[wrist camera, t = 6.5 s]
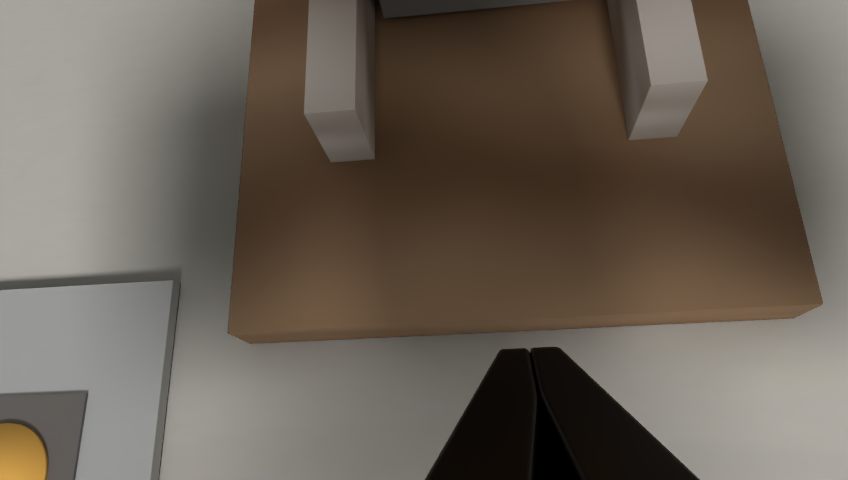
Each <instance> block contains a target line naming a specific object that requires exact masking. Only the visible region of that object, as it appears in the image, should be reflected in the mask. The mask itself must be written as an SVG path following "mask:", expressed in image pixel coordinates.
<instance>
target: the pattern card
mask: <svg viewBox="0 0 848 480" xmlns="http://www.w3.org/2000/svg"><path fill="white" fill-rule="evenodd" d="M179 289H180V284H179V283H177V282H176V281H174V280H167V281H149V282H132V283H115V284H97V285H80V286H63V287H45V288H28V289H11V290H0V480H158V479H159V470H160V461H161V452H162V443H163V434H164V425H165V416H166V407H167V398H168V389H169V380H170V371H171V362H172V353H173V344H174V335H175V326H176V317H177V307H178V298H179Z"/></svg>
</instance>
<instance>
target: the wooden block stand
mask: <svg viewBox="0 0 848 480" xmlns="http://www.w3.org/2000/svg"><path fill="white" fill-rule="evenodd" d="M822 304H823V302H822V298H821V294H820V290H819V286H818V282H817V278H816V274H815V270H814V266H813V262H812V258H811V254H810V250H809V246H808V242H807V238H806V234H805V230H804V225H803V221H802V217H801V213H800V209H799V205H798V201H797V197H796V193H795V189H794V185H793V181H792V177H791V173H790V169H789V165H788V161H787V157H786V153H785V149H784V145H783V141H782V137H781V133H780V129H779V125H778V121H777V117H776V113H775V109H774V105H773V101H772V97H771V93H770V89H769V85H768V81H767V77H766V73H765V69H764V65H763V61H762V57H761V53H760V49H759V45H758V41H757V37H756V33H755V29H754V25H753V21H752V16H751V12H750V8H749V4H748V0H570V1H560V2H549V3H539V4H529V5H518V6H508V7H497V8H487V9H477V10H466V11H456V12H445V13H435V14H425V15H414V16H404V17H394V18H384V16H383V12H382V8H381V4H380V0H255V5H254V17H253V29H252V41H251V54H250V66H249V78H248V90H247V103H246V115H245V127H244V139H243V151H242V164H241V176H240V188H239V200H238V213H237V225H236V237H235V249H234V262H233V274H232V286H231V298H230V311H229V323H228V333H229V334H231V335H233V336H235V337H237V338H239V339H241V340H243V341H246V342H248V343H250V344H254V343H275V342H297V341H318V340H339V339H360V338H382V337H403V336H424V335H446V334H467V333H488V332H509V331H531V330H552V329H573V328H594V327H616V326H637V325H658V324H680V323H701V322H722V321H743V320H765V319H786V318H795V317H797V316H799V315H801V314H803V313H805V312H807V311H809V310H811V309H813V308H815V307H818V306H820V305H822Z"/></svg>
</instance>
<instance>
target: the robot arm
mask: <svg viewBox="0 0 848 480" xmlns="http://www.w3.org/2000/svg"><path fill="white" fill-rule="evenodd" d="M425 480H700V479H699V478H697V477H696V476H695V475H694V474H693V473H692V472H691V471H690V470H689V469H688V468H687V467H686V466H685V465H684V464H683V463H681V462H680V461H679V460H678V459H677V458H676V457H675V456H674V455H673V454H672V453H671V452H670V451H669V450H668V449H667V448H666V447H664V446H663V445H662V444H661V443H660V442H659V441H658V440H657V439H656V438H655V437H654V436H653V435H652V434H651V433H650V432H649V431H647V430H646V429H645V428H644V427H643V426H642V425H641V424H640V423H639V422H638V421H637V420H636V419H635V418H634V417H633V416H631V415H630V414H629V413H628V412H627V411H626V410H625V409H624V408H623V407H622V406H621V405H620V404H619V403H618V402H617V401H616V400H614V399H613V398H612V397H611V396H610V395H609V394H608V393H607V392H606V391H605V390H604V389H603V388H602V387H601V386H600V385H599V384H597V383H596V382H595V381H594V380H593V379H592V378H591V377H590V376H589V375H588V374H587V373H586V372H585V371H584V370H583V369H581V368H580V367H579V366H578V365H577V364H576V363H575V362H574V361H573V360H572V359H571V358H570V357H569V356H568V355H567V354H566V353H564V352H563V351H562V350H561V349H560V348H558V347H541V348H533V349H531V351H530V353H529V351H528V350H527V349H525V348H519V349H502V350H501V351H499V353H498V354H497V356H496V358H495V360H494V361H493V363H492V365H491V366H490V368H489V370H488V372H487V373H486V375H485V377H484V379H483V380H482V382H481V384H480V385H479V387H478V389H477V391H476V392H475V394H474V396H473V398H472V399H471V401H470V403H469V404H468V406H467V408H466V410H465V411H464V413H463V415H462V416H461V418H460V420H459V422H458V423H457V425H456V427H455V429H454V430H453V432H452V434H451V435H450V437H449V439H448V441H447V442H446V444H445V446H444V448H443V449H442V451H441V453H440V454H439V456H438V458H437V460H436V461H435V463H434V465H433V467H432V468H431V470H430V472H429V473H428V475H427V477H426V479H425Z"/></svg>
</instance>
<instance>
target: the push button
mask: <svg viewBox="0 0 848 480" xmlns="http://www.w3.org/2000/svg"><path fill="white" fill-rule="evenodd" d="M560 1H570V0H380V4H381V8H382V12H383V16H384V18H394V17H404V16H414V15H425V14H435V13H445V12H456V11H466V10H477V9H487V8H497V7H508V6H518V5H529V4H539V3H549V2H560Z"/></svg>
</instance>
